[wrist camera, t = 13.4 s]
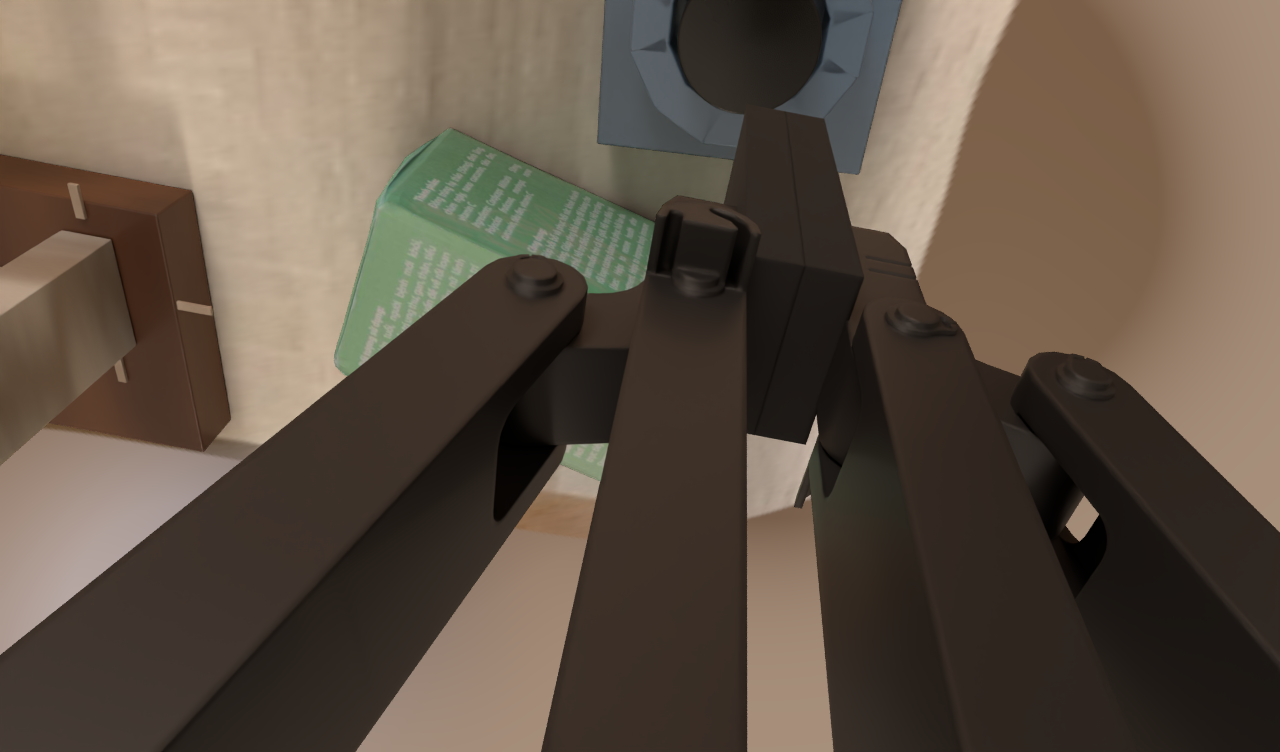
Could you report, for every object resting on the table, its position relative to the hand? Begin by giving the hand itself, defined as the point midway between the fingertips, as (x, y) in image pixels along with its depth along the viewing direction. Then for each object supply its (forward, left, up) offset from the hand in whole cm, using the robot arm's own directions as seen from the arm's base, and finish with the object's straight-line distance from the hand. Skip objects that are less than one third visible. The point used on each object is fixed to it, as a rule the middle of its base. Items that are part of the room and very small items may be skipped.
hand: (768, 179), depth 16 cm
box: (-12, +1, -14) cm, 18 cm away
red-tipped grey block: (-21, +18, -11) cm, 30 cm away
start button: (0, +1, -10) cm, 10 cm away
